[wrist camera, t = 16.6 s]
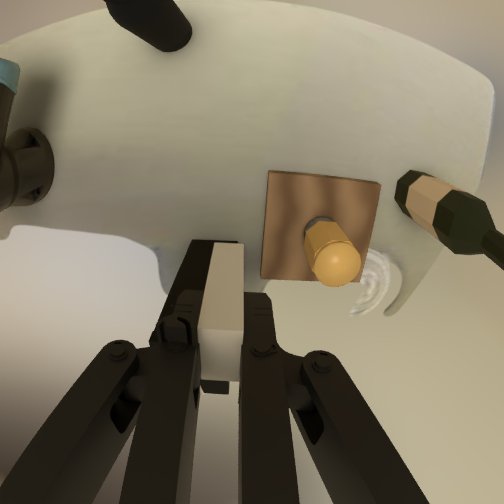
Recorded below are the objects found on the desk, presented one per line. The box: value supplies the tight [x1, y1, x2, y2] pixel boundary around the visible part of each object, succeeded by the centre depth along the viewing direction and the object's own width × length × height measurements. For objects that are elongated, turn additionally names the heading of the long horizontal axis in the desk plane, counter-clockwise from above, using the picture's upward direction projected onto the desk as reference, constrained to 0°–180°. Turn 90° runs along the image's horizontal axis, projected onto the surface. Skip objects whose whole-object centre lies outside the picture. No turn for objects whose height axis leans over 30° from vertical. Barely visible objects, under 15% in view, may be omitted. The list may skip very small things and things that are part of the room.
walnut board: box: [260, 170, 381, 282], centre depth 47 cm, size 18×18×2 cm
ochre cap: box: [304, 221, 361, 287], centre depth 39 cm, size 6×6×8 cm
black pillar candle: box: [149, 240, 238, 396], centre depth 38 cm, size 8×8×28 cm
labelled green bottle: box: [395, 170, 504, 270], centre depth 31 cm, size 8×8×30 cm
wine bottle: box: [104, 0, 192, 52], centre depth 20 cm, size 6×6×30 cm
